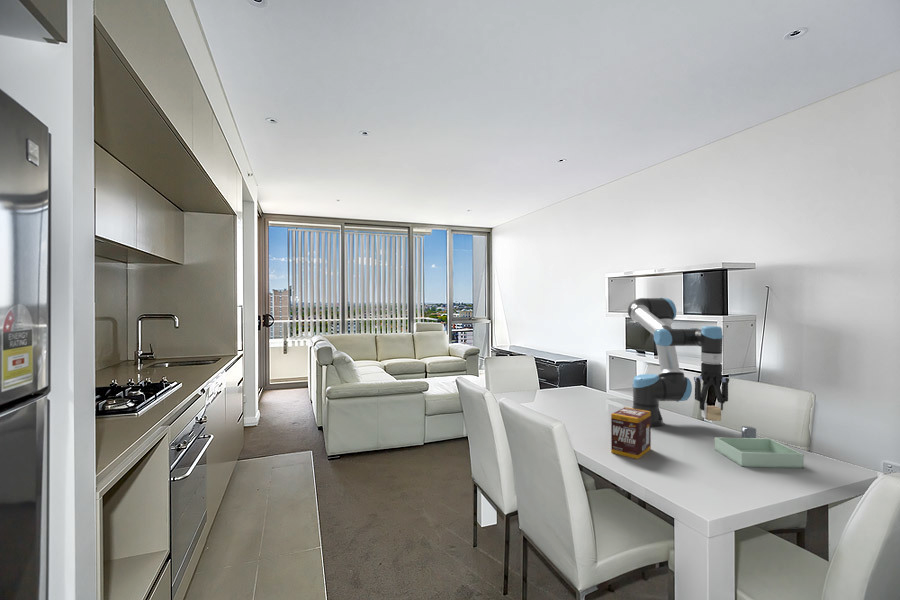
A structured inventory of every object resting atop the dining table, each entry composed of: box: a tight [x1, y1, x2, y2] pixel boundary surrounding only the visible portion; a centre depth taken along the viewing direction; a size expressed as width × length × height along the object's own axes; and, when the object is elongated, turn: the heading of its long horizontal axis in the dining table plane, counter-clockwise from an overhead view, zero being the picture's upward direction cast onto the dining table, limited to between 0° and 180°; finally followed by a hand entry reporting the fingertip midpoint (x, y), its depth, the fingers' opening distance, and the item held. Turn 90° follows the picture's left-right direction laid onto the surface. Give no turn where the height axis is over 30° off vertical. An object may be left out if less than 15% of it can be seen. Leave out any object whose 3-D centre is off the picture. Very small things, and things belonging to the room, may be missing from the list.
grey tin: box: [741, 425, 757, 438], centre depth 176 cm, size 5×5×7 cm
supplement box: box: [610, 407, 652, 460], centre depth 169 cm, size 10×15×16 cm
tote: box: [714, 436, 805, 469], centre depth 161 cm, size 17×21×5 cm
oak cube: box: [706, 405, 722, 422], centre depth 177 cm, size 5×5×5 cm
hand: (711, 417), depth 178 cm, fingers closed on oak cube, 5 cm apart
